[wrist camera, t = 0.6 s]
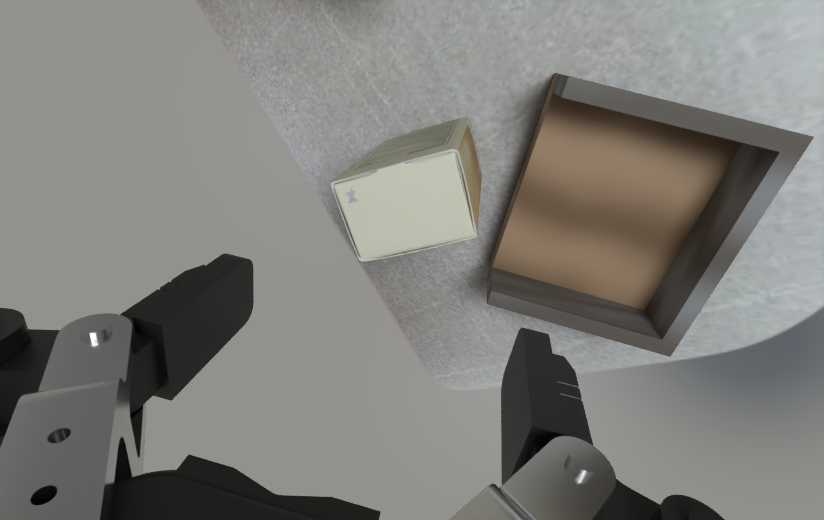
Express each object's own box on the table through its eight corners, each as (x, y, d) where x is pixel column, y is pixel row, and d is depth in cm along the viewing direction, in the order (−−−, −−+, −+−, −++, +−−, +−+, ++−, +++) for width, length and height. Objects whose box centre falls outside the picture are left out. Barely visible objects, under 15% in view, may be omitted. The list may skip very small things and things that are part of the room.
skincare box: (403, 195, 32) (353, 266, 21) (385, 138, 30) (321, 183, 19) (487, 175, 30) (480, 241, 19) (473, 113, 28) (457, 147, 17)
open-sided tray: (554, 72, 26) (568, 76, 21) (748, 120, 26) (814, 137, 20) (488, 263, 33) (486, 303, 27) (641, 307, 32) (670, 356, 27)
